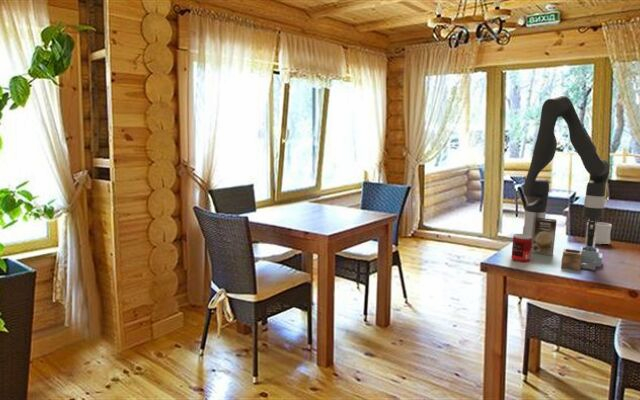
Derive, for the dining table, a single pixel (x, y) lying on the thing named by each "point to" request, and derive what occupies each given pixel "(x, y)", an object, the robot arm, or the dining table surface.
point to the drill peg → (591, 248)
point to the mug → (603, 233)
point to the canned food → (521, 247)
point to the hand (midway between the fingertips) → (589, 244)
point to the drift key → (589, 265)
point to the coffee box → (544, 236)
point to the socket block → (571, 259)
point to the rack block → (591, 256)
